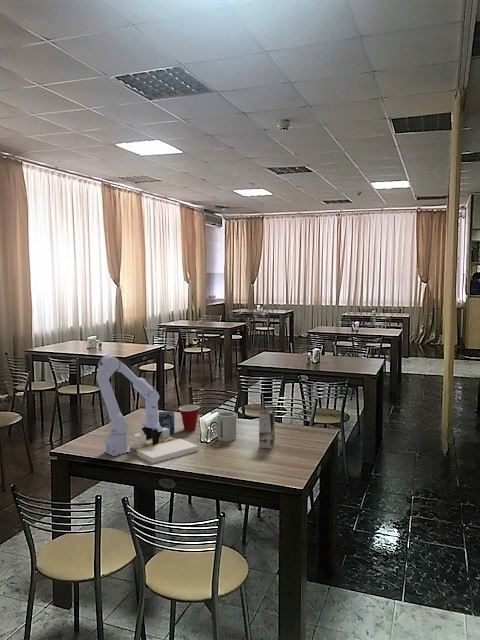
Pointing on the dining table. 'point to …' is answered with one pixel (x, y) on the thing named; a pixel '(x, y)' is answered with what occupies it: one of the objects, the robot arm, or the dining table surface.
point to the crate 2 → (165, 433)
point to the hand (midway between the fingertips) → (152, 443)
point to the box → (167, 420)
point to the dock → (166, 450)
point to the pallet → (149, 443)
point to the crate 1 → (139, 438)
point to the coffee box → (266, 428)
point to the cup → (226, 426)
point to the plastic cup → (189, 416)
